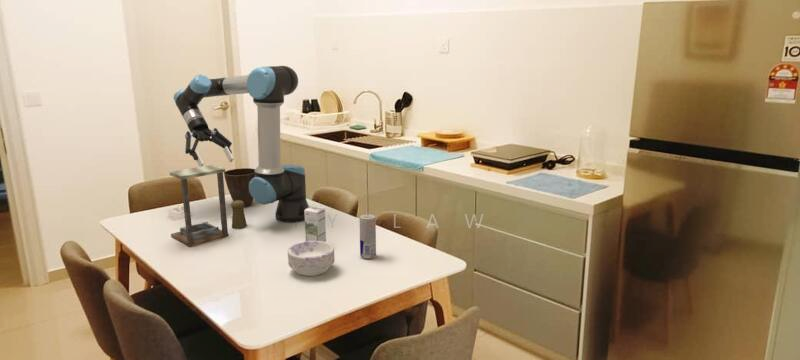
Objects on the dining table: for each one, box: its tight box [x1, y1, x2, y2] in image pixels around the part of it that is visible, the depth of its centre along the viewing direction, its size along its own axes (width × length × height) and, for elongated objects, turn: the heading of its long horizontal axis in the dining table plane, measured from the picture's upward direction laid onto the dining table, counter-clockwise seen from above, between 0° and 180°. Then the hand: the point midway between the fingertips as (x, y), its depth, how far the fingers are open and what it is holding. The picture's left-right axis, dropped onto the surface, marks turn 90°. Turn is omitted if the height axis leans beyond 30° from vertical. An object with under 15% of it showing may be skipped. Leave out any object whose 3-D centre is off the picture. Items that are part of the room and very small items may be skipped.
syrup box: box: [304, 205, 327, 242], centre depth 204 cm, size 6×6×14 cm
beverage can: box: [359, 213, 377, 260], centre depth 193 cm, size 6×6×15 cm
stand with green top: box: [169, 164, 230, 248], centre depth 212 cm, size 17×16×27 cm
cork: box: [230, 200, 248, 230], centre depth 226 cm, size 6×6×11 cm
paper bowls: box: [287, 240, 336, 277], centre depth 183 cm, size 15×15×8 cm
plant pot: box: [223, 167, 256, 208], centre depth 255 cm, size 15×15×16 cm
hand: (217, 163), depth 227 cm, fingers open, 13 cm apart
